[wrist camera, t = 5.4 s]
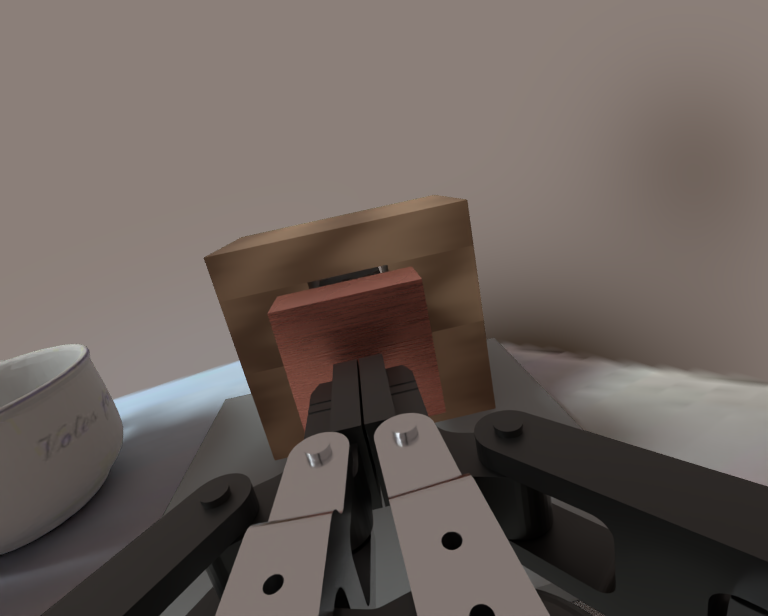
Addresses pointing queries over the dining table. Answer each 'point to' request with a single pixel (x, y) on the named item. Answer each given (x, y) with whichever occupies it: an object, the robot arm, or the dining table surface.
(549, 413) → the base mat
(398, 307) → the red headed square peg
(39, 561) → the dining table surface
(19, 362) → the teacup
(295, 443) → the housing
